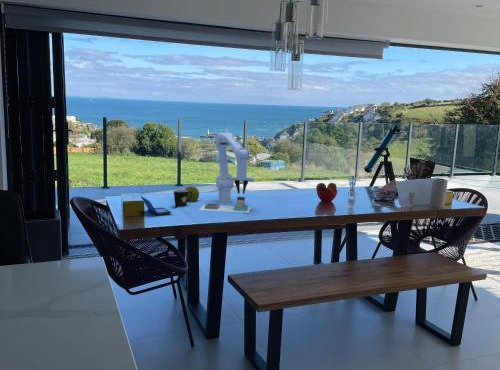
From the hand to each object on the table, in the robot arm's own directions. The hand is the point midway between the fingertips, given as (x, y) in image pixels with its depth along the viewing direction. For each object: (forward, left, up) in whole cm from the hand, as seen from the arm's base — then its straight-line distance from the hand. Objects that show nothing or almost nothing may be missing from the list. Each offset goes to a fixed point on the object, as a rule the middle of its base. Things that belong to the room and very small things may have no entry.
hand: (241, 193), depth 269 cm
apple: (-16, -34, -11) cm, 39 cm away
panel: (0, -9, -10) cm, 14 cm away
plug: (0, 0, -9) cm, 9 cm away
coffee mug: (-2, -35, -11) cm, 37 cm away
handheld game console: (+16, -46, -11) cm, 50 cm away
